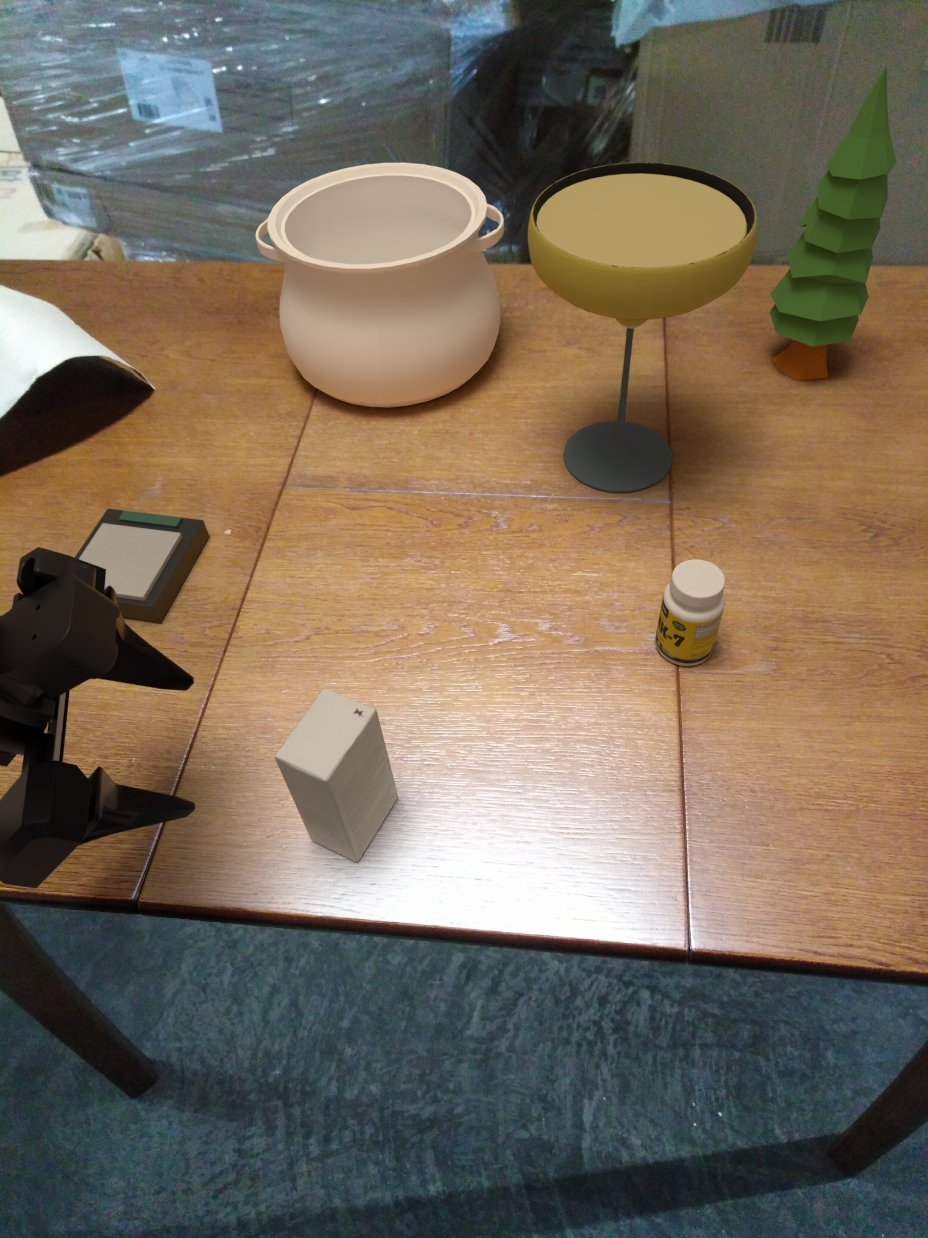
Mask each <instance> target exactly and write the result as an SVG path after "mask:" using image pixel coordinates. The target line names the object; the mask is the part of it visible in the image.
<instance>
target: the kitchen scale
mask: <svg viewBox="0 0 928 1238" xmlns="http://www.w3.org/2000/svg"><path fill="white" fill-rule="evenodd" d="M209 538H210V534H209V532H208V529H207V526H206V523H205V521H204V519H197V518H190V517H180V516H174V515H173V516H172V515H165V514H157V513H148V512H140V511H131V510H123V509H115V508H106V510H105V511H104V513H103V515H102V516H101V518H100V519H99V521H98V522H97V524H96V525H95V526H94V528H93V530H92V531H90V534H89V536H88V537H87V538H86V540H85V541H84V542H83V544H82V545H81V547H80V549H79V550H78V551H77V553H76V554H75V556H74V558H77V559H80V560H82V561H85V562H88V563H91V564H93V565H96V566H99V567H102V568H104V569H106V578H105V589H106V587H107V586H109V585H110V586H112V587H113V588H114V590H115V592H116V601H117V604H118V605H119V608H120V612H121V615H122V617H123V619H127V620H128V619H129V620H135V621H143V622H149V623H157V624H162V622H163V621H164V619H165V617H166V616H167V614H168V612H169V610H170V608H171V607H172V605H173V603H174V601H175V600H176V597H177V596H178V594H179V592H180V591H181V589H182V587H183V586H184V583H185V581H186V579H187V578H188V576H189V574H190V573H191V570H192V569H193V567H194V565H195V563H196V561H197V560H198V558H199V556H200V555H201V553H202V551H203V549H204V547H205V546H206V544H207V542H208V540H209Z"/></svg>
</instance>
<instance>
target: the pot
mask: <svg viewBox="0 0 928 1238" xmlns="http://www.w3.org/2000/svg"><path fill="white" fill-rule="evenodd" d="M487 218H488V219H490V220H493V221H494V222H496V223H497V224H498V226H497V228H496V229H493V230H492V231H490V232H489V233H487V234H484V235H482V236H479V231H480V230H481V229H482V227H483V225H484V223H486V219H487ZM504 231H505V219H504V215H503V213H502V212H501V211H500V210H499V208H497V207H496V206H494V205H491V204H489V203H487V199H486V196H485V194H484V192H483V191H482V189H481V188H480V187H479V186H478V185H477V184H476V183H474V182H473V181H472V180H471V179H470V178H468V177H466V176H464V175H462V174H460V173H459V172H456V171H452V170H450V169H447V168H444V167H439V166H434V165H429V164H425V163H415V162H413V163H412V162H377V163H368V164H367V163H366V164H361V165H355V166H350V167H345V168H340V169H337V170H334V171H330V172H327V173H324V174H322V175H321V174H320V175H318V176H316V177H314V178H311V179H309V180H307V181H305V182H303V183H301V184H300V185H298V186H295V187H294V188H293V189H291V190H290V191H289V192H287V193H285V194H284V195H283V196H282V197H281V198H280V199H279V200H278V201H277V202H276V203H275V205H274V206H273V207H272V209H271V211H270V213H269V215H268V216H267V218H266V219H264V221H263V222H262V223H260V224H259V226H257V229H256V230H255V236H254V237H255V240H256V241H255V242H256V245H257V249H258V250H259V252H260V254H261V255H263V256H264V257H265V258H268V259H270V260H274V261H276V262H281V263H284V267H285V268H284V276H283V281H282V285H281V291H280V294H279V305H278V306H279V307H278V308H279V328H280V332H281V334H282V335H281V336H282V338H283V342H284V345H285V349H286V352H287V353H286V354H287V355H288V357H289V359H290V360H291V361H292V363H293V364H294V366H295V367H296V369H297V371H298V372H299V374H301V376H302V377H303V379H304V380H305V381H307V382H308V383H309V384H310V385H311V386H313V387H314V388H316V389H317V390H319V391H321V392H323V393H324V394H326V395H328V396H330V397H332V398H334V399H336V400H339V401H342V402H345V403H348V404H351V405H357V406H362V407H370V408H397V407H405V406H406V407H407V406H412V405H417V404H421V403H426V402H429V401H432V400H435V399H437V398H440V397H443V396H445V395H447V394H449V393H451V392H453V391H455V390H457V389H459V388H460V387H461V386H463V385H464V384H465V383H467V382H468V381H469V380H470V379H472V378H473V376H475V374H476V373H478V372H479V371H480V370H481V369H482V367H483V366H484V365H485V364H486V363H487V361H488V360H489V358H490V356H491V354H492V352H493V350H494V347H495V346H496V342H497V339H498V336H499V332H500V326H501V301H500V296H499V291H498V286H497V283H496V279H495V275H494V273H493V270H492V269H491V267H490V265H489V262H488V260H487V259H486V256H485V254H484V252H483V251H485V250H487V249H489V248H491V247H493V246H495V245H496V244H497V243H499V241H500V239H502V238H503V236H504V233H505V232H504ZM267 234H268V235H269V238H270V242H271V243H272V244H273V245H274V246H275V247H274V246H271V245H269V244H267V243H265V242H264V241H263V240H264V238H265V236H266V235H267Z"/></svg>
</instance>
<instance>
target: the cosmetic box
mask: <svg viewBox="0 0 928 1238" xmlns="http://www.w3.org/2000/svg"><path fill="white" fill-rule="evenodd" d="M382 730H383V729H382V726H381V722H380V718H379V714H378V710H377V708H375V707H373V706H371V705H368V704H365V703H363V702H360V701H357V700H355V699H353V698H350V697H347V696H345V695H344V694H341V693H339V692H335V691H333V690H330V689H328V688H325V687H324V688H322V689H321V691H320V692H319V694H318V695H317V696H316V698H315V699H314V700H313V702H312V703H311V704H310V706H309V708H307V710H306V711H305V713H304V714H303V716H302V717H301V719H300V720H299V721H298V723H297V724H296V726H294V729H293V730H292V731H291V732H290V734H289V735H288V737H287V738H286V739H285V741H284V742H283V744H282V745H281V746H280V748H278V751H277V752H276V753H275V754H274V760H275V762H276V765H277V767H278V768H279V771H280V774H281V775H282V779H283V780H284V782H285V784H286V787H287V789H288V791H289V793H290V795H291V798H292V801H293V802H294V805H295V807H296V809H297V811H298V813H299V816H300V819H301V820H302V823H303V825H304V827H305V829H306V832H307V834H308V836H309V838H310V840H311V841H313V842H314V843H316V844H318V845H321V846H323V847H325V848H326V849H328V850H331V851H333V852H335V853H337V854H338V855H340V856H343V857H345V858H347V859H349V860H350V861H352V862H355V863H359V861H360V859H361V858H362V856H363V854H364V853H365V852H366V850H367V849H368V847H369V845H370V843H371V842H372V840H373V839H374V837H375V835H376V833H377V832H378V831H379V829H380V827H381V826H382V824H383V822H384V821H385V819H386V817H387V816H388V814H389V812H390V811H391V809H392V807H393V806H394V804H395V803H396V801H397V800H398V798H399V793H398V789H397V785H396V781H395V777H394V774H393V769H392V766H391V761H390V757H389V754H388V750H387V746H386V742H385V738H384V733H383V731H382Z"/></svg>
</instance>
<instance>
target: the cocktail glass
mask: <svg viewBox="0 0 928 1238" xmlns="http://www.w3.org/2000/svg"><path fill="white" fill-rule="evenodd" d="M757 233H758V214H757V211H756V208H755V205H754V203H753V202H752V200H751V198H749V196H748V195H747V194H746V193H745V192H744V191H743V190H742V189H741V188H739V187H738V186H737V185H735V184H733V183H732V182H731V181H729V180H727V179H724V178H723V177H720V176H719V175H716V174H714V173H710V172H707V171H705V170H702V169H698V168H694V167H690V166H685V165H679V164H673V163H665V162H664V163H663V162H645V161H644V162H642V161H638V162H637V161H635V162H620V163H612V164H611V163H610V164H605V165H600V166H595V167H590V168H586V169H583V170H579V171H576V172H574V173H571V174H569V175H567V176H564V177H563V178H560V179H558V180H557V181H555V182H554V183H552V184H551V185H548V187H547V188H545V189H544V190H543V191H542V192H541V193H540V194H539V195H538V196H537V198H536V200H535V201H534V203H533V205H532V207H531V210H530V214H529V219H528V226H527V244H528V245H527V246H528V254H529V259H530V263H531V265H532V267H533V269H534V271H535V273H536V276H537V277H538V278H539V279H540V280H541V282H542V283H543V284H544V285H545V286H546V287H547V288H548V289H550V290H551V291H552V292H553V293H554V294H555V295H557V296H558V297H559V298H561V299H563V300H564V301H566V302H567V303H569V304H571V305H572V306H574V307H577V308H578V309H581V310H584V311H586V312H588V313H592V314H594V315H597V316H598V315H599V316H603V317H607V318H612V319H615V320H616V322H618V324H620V325H621V326H622V327H623V328H625V329H626V333H625V344H624V352H623V353H624V356H623V362H622V363H623V364H622V372H621V373H622V374H621V384H620V391H619V399H618V401H619V402H618V409H617V416H616V420H606V421H600V422H595V423H592V424H589V425H587V426H584V427H583V428H581V429H579V430H577V431H576V432H575V433H573V434H572V435H571V436H570V438H569V439H568V440H567V442H566V443H565V446H564V449H563V461H564V465H565V467H566V469H567V470H568V471H569V473H570V475H572V476H573V477H574V478H575V479H576V480H578V482H580V483H582V484H584V485H585V486H588V487H590V488H592V489H595V490H599V491H603V492H608V493H632V492H638V491H641V490H644V489H648V488H650V487H652V486H654V485H656V484H658V483H659V482H660V481H661V480H663V479H664V478H665V477H666V475H668V473H669V471H670V469H671V466H672V463H673V452H672V449H671V447H670V445H669V443H668V442H667V440H666V439H665V438H664V437H663V436H662V435H661V434H660V433H658V432H657V431H655V430H654V429H652V428H650V427H648V426H645V425H643V424H640V423H636V422H632V421H627V420H626V417H627V416H626V415H627V403H628V392H629V391H628V390H629V380H630V369H631V359H632V349H633V340H634V334H635V333H634V331H635V329H637V328H639V327H641V326H642V325H643V324H645V323H646V322H647V321H648V320H658V319H659V320H660V319H665V318H670V317H676V316H680V315H684V314H687V313H690V312H694V311H695V310H698V309H700V308H703V307H704V306H706V305H709V304H711V303H712V302H714V301H715V300H717V299H718V298H720V297H722V296H724V295H725V294H726V293H727V292H729V291H730V290H732V288H733V287H734V286H736V285H737V284H738V283H739V282H740V280H741V279H742V277H743V276H744V274H745V273H746V271H747V270H748V267H749V265H750V263H751V260H752V257H753V254H754V252H755V251H754V250H755V249H756V248H755V247H756V243H757Z"/></svg>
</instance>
